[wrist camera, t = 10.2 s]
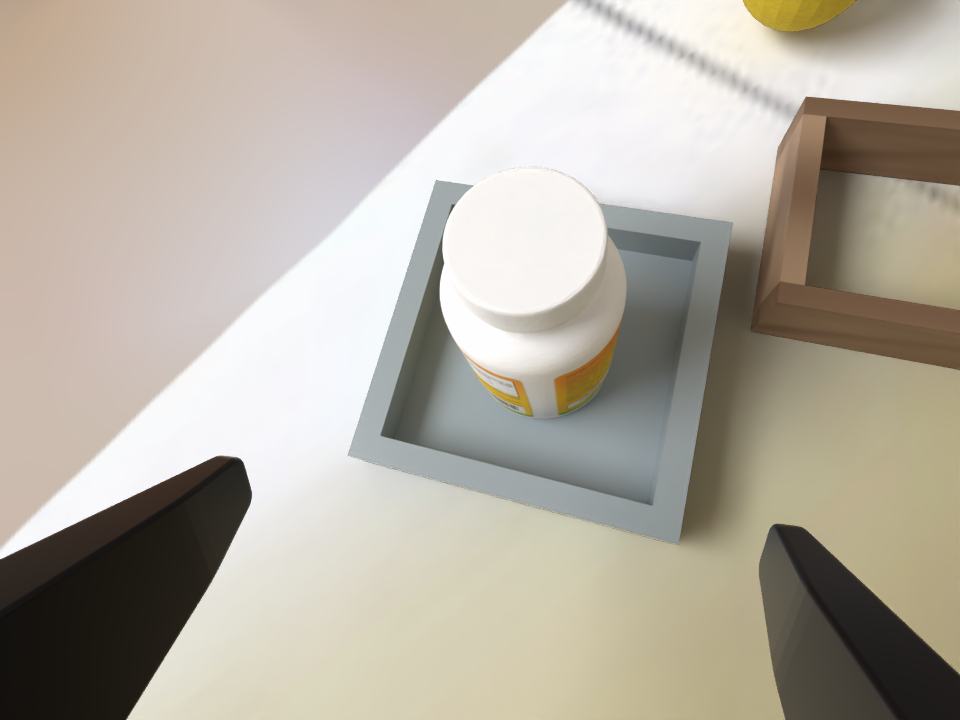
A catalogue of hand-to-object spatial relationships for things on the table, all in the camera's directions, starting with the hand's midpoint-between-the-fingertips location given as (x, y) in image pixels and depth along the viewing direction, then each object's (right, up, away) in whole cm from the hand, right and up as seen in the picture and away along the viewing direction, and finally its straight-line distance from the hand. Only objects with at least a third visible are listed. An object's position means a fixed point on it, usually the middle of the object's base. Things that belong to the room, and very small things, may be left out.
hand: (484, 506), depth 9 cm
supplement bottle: (+2, +3, +13) cm, 14 cm away
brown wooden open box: (+16, +7, +13) cm, 21 cm away
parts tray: (+3, +3, +14) cm, 14 cm away
